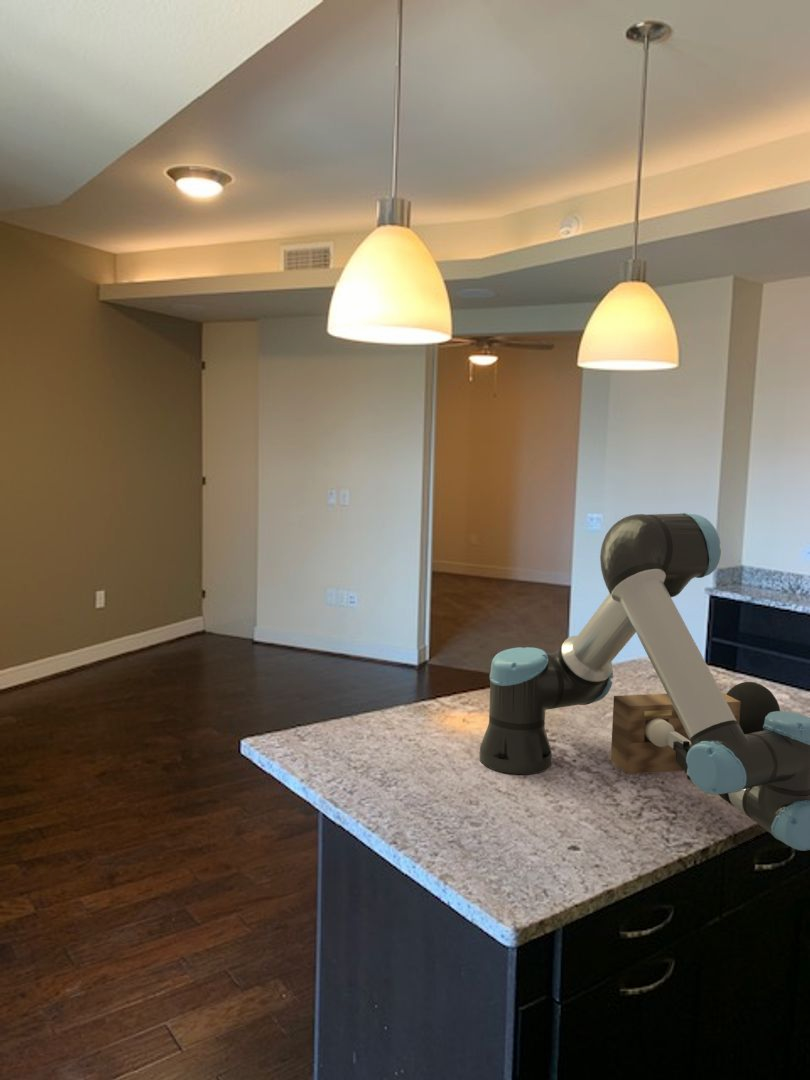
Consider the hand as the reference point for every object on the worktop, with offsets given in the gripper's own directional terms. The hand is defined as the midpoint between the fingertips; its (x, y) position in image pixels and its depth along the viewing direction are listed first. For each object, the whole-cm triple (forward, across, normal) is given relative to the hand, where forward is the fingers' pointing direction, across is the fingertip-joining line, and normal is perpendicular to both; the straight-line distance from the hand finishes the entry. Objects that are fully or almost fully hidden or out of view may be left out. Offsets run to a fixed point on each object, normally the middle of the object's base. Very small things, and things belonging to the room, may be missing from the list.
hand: (672, 738), depth 154 cm
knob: (+11, 0, -3) cm, 11 cm away
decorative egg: (+16, +28, -10) cm, 34 cm away
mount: (+9, +6, -9) cm, 14 cm away
